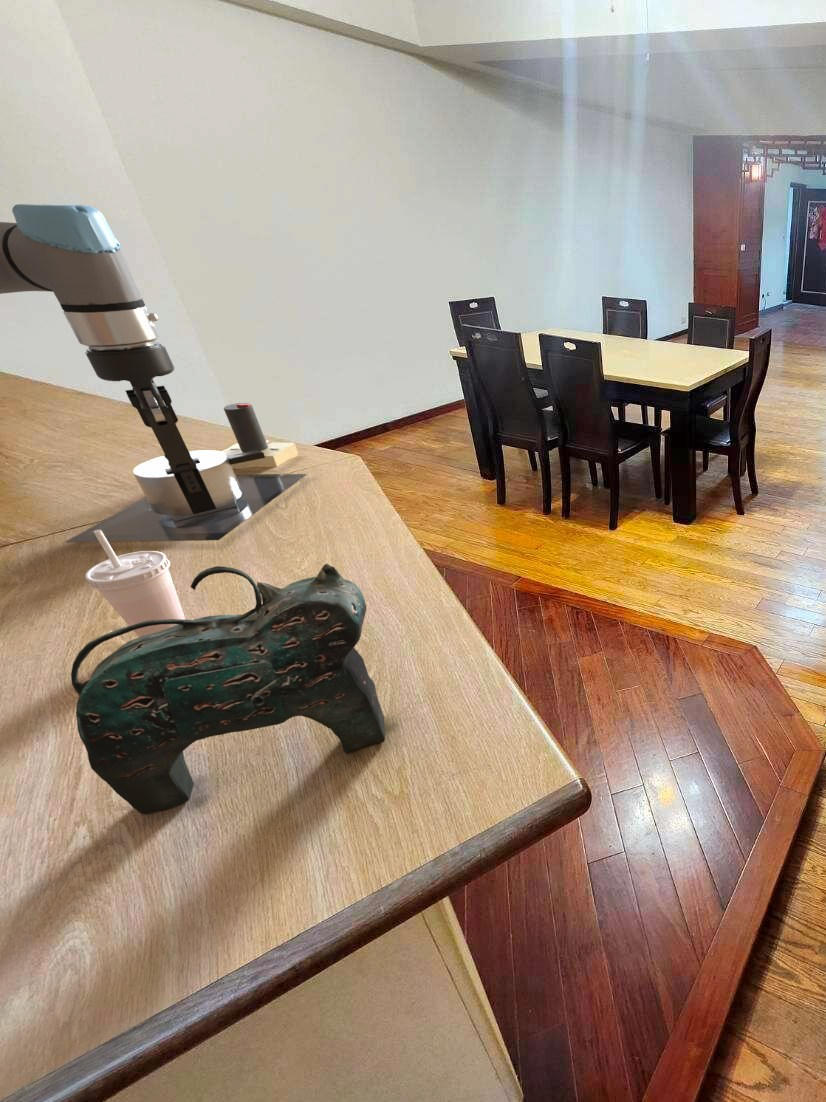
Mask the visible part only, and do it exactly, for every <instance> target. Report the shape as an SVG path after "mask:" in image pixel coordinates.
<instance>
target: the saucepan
mask: <svg viewBox="0 0 826 1102" xmlns="http://www.w3.org/2000/svg"><path fill="white" fill-rule="evenodd" d="M188 451H189V453H190V456H191V458H192V459H194V458H198V459H199V461H200V463H198V464H196V465H197V466H196V467H197V468H198V471H199V473H200V475H201V477H202V479H203V481H204V483H205V485H206V487H207V490H208V492H209V494H210V496H211V498H212V500H213V502H214V504H215V506H216V508H217V509H214V510H210V511H206V512H202V513H197V514H193V512H192V510H191V508H190V506H189V504H188V502H187V500H186V498H185V496H184V494H183V492H182V490H181V488H180V486H179V484H178V482H177V480H176V478H175V476H174V474H170V475H167V473H166V471H165V469H170V466H169V464H168V463H169V462H168V460H167V458H165V456H164V455H162V456H159V457H155V458H152V459H149V460H146V461H145V462H141V463H140V464H138V465H136V466H135V467H134V468H133V469H132V475H133V476H134V478H135V480H136V481H137V484H138V485H139V488H140V489H141V491H142V493H143V494H144V498H145V497H146V498H147V500H148V502H149V504H150V506H151V508H152V510H153V511H154V512H155V513H157V514H160V515H166V516H171V518H172V520H173V522H175V521H179V520H183V519H187V518H192V517H196V516H200V515H204V514H208V513H213V512H217V511H221V510H225V509H229V508H233V507H237V504H236V502H235V500H237V499H238V498H239V497H240V496H241V495H242V492H243V491H242V489H241V487H240V484H239V482H238V480H237V478H236V475H235V474H236V472H235V471H234V469H233V468H232V466H231V465H232V464H237V463H242V462H247V461H252V460H257V459H262V458H265V455H264V453H263V452H262V450H257V451H251V452H246V453H241V454H236V455H231V456H227V455H226V454H225V453H223V452H222V451H220V450H211V449H210V450H209V449H207V450H206V449H202V450H200V449H199V450H188Z"/></svg>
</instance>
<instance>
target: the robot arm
mask: <svg viewBox="0 0 826 1102" xmlns="http://www.w3.org/2000/svg"><path fill="white" fill-rule="evenodd" d="M11 210H12V211H11V212H12V214H13V217H14V219H15V222H9V221H0V295H1V294H13V293H22V292H23V293H24V292H52V293H53V294H54V296H55V298H56V300H57V302H58V303H59V306H60V307H61V310H62V313H63V315H64V317H65V318H66V320H67V322H68V325H69V326H70V328H71V330H72V332H73V334H74V335H75V338H76V339H77V341H78V343H79V344H80V345H82V346H85V347H88V348H87V349H86V350H85V355H86V357H87V359H88V361H89V363H90V365H91V367H92V369H93V370H94V373H95V375H96V376H97V377H98V378H99V379H100V380H102V381H103V380H104V381H107V382H123V381H126V382H129V383H130V385H131V389H126V390H124V391H125V392H126V396H127V398H128V400H129V402H130V404H131V406H132V407H133V408H135V409H136V410H137V413H138V414H139V416H140V418H141V420H142V422H143V423H144V425H145V427H148V428H151V430H152V432H153V434H154V436H155V437H156V439H157V442H158V444H159V445H160V448H161V450H162V451H163V454H164V455H163V456H165V458H167V460H168V462H169V463H168V464H169V466H170V469H165V471H166V473H167V475H170V474H174V476H175V478H176V480H177V482H178V484H179V486H180V488H181V490H182V492H183V494H184V496H185V498H186V500H187V502H188V504H189V506H190V508H191V510H192V512H193V514H197V513H202V512H206V511H210V510H214V509H217V508H216V506H215V504H214V502H213V500H212V498H211V496H210V494H209V492H208V490H207V487H206V485H205V483H204V481H203V479H202V477H201V475H200V473H199V471H198V468H197V467H196V466H197V465H196V464H198V463H200V461H199V459H198V458H194V459H192V458H191V456H190V453H189V451H190V450H189V449H188V447H187V445H186V443H185V441H184V439H183V437H182V435H181V432H180V430H179V428H178V426H177V423H178V422H179V418H178V416H177V414H176V412H175V410H174V408H173V406H172V402H173V401H172V398H171V395H170V394H169V391H168V390H167V389H166V387H165V385H156V383H155V381H154V378H156V377H165V376H167V375H169V374H172V373H173V372H174V371H175V366H174V364H173V362H172V359H171V357H170V355H169V353H168V351H167V348H166V346H165V345H164V344H162V343H161V342H159V341H156V340H158V339H159V338H160V334H159V331H158V330H157V328H156V325H155V324H153V322H158V321H159V317H158V315H157V314H156V313H154V312H153V313H152V312H151V313H148V309H147V307H146V303H145V301H144V300H143V299H144V297H143V296H142V294H141V291H140V289H139V287H138V284H137V282H136V281H135V278H134V276H133V273H132V271H131V269H130V266H129V264H128V261H127V259H126V257H125V255H124V253H123V251H122V246H121V244H120V242H119V241H118V239H117V238H116V236H115V235H114V232H113V231H112V229H111V227H110V225H109V224H108V222H107V219H106V218H105V216H104V214H103V213H102V212H101V211H100V210H98V209H97V208H96V207H93V206H91V205H85V204H53V203H52V204H49V203H48V204H47V203H42V204H41V203H40V204H39V203H38V204H37V203H36V204H34V203H20V204H19V203H18V204H14V205H13V207H12V208H11Z"/></svg>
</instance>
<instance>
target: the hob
mask: <svg viewBox="0 0 826 1102" xmlns="http://www.w3.org/2000/svg"><path fill="white" fill-rule="evenodd" d="M235 475H236V478H237V480H238V482H239V484H240V487H241V489H242V491H243V492H242V495H241V496H240V497H239V498H238V499H237V500H235V502H236V504H237V507H233V508H229V509H225V510H221V511H217V512H213V513H208V514H204V515H200V516H196V517H192V518H187V519H183V520H179V521H175V522H173V520H172V518H171V516H166V515H160V514H157V513H155V512H154V511H153V510H152V508H151V506H150V504H149V502H148V500H147V498H146V497H145V496H144V497H143V498H141V499H139V500H137V501H136V502H134V503H132V504H130V505H129V506H126V507H125V508H123V509H121V510H119V511H118V512H116V513H114V514H113V515H110V516H109V517H107V518H105V519H103V520H101V521H99V522H98V523H95V524H94V525H93V526H91V527H89V528H87V529H85V530H84V531H82V532H80V533H78V534H77V535H75V536H73V537H70V538H69V539H67V540H65V543H100V542H99V540H98V539H97V537H96V535H95V534H94V531H95V530H101V531H102V532H103V534H104V536H105V538H106V539H107V541H108V543H113V542H117V543H118V542H120V543H121V542H175V541H176V542H180V541H183V542H184V541H186V542H187V541H220V540H221V539H223V538H224V537H225V536H226V535H228V534H229V533H231V532H232V531H233V530H235V529H236V528H237V527H239V526H240V525H241V524H243V523H244V522H245V521H247V520H248V519H249V518H251V517H252V516H254V515H255V514H256V513H258V512H259V511H260V510H261V509H263V508H264V507H265V506H267V505H268V504H269V503H271V502H272V501H273V500H275V499H276V498H277V497H279V496H281V495H282V494H283V493H284V492H286V491H287V490H288V489H290V488H291V487H292V486H294V485H295V484H297V483H298V482H299V481H301V480H302V479H303V478H304V477H306V476H308V473H240V474H239V473H235Z"/></svg>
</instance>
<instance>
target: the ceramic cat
mask: <svg viewBox="0 0 826 1102" xmlns="http://www.w3.org/2000/svg"><path fill="white" fill-rule="evenodd" d="M225 573H226V574H234V575H237V576H240V577H243V578H244V579H246V580H247V581H248V582H249V584H250V585H251V586H252V588H253V591H254V596H255V597H254V598H255V606H254V607H253V608H252V609H250V610H249V611H246V612H245V613H243V614H216V615H208V616H203V617H202V616H201V617H199V618H194V619H185V620H183V619H166V620H150V621H145V622H141V623H138V624H134V625H131V626H129V625H128V626H124V627H120V628H117V629H115V630H112V631H110V632H107V633H105V634H102V635H100V636H99V637H97V638H94V639H93V640H91V641H88V642H87V643H86V644H85V645H84V646H83V648H81V650H79V651H78V653H77V655H76V657H75V659H74V661H73V662H72V667H71V672H70V677H71V685H72V687H73V689H74V691H75V692H76V694H77V695H78V699H77V702H76V711H75V716H76V724H77V725H76V726H77V732H78V735H79V738H80V740H81V742H82V744H83V745H84V748H85V750H86V754H87V760H88V762H89V766H90V767H91V770H93V772H94V773H95V774H96V775H97V776H98V777H99V778H100V779H102V781H104V782H105V783H106V784H107V785H109V787H110V788H111V789H112V790H113V791H114V792H115V793H116V794H117V795H118V796H119V797H121V798H122V799H123V800H124V801H125V802H127V803H128V804H129V806H131V807H132V808H133V809H134V810H136V811H137V812H138V813H140V814H141V815H148V814H149V815H150V814H153V813H159V812H162V811H166V810H169V809H172V808H176V807H178V806H181V805H183V804H185V803H187V802H189V801H190V799H191V796H192V791H193V788H194V785H195V784H194V783H195V782H194V781H193V778H192V774H191V772H190V770H189V768H188V765H187V762H186V760H185V755H184V751H185V750H186V749H187V748H188V747H189V746H191V745H193V744H194V743H195V742H197V741H201V740H204V739H208V738H211V737H215V736H223V735H226V734H231V733H240V732H246V731H251V730H256V729H263V728H266V727H272V726H277V725H281V724H283V723H286V721H288V720H290V719H292V718H295V717H305V718H307V719H310V720H312V721H314V722H316V723H319V724H321V725H322V726H324V727H326V728H328V729H329V730H331V731H332V733H333V734H334V735H335V736H336V737H337V738H338V740H339V742H340V744H341V748H342V749H343V752H344V753H345V754H346V755H349V754H351V753H354V752H356V751H358V750H361V749H363V748H366V747H369V746H373V745H377V744H381V743H384V742H385V740H386V726H385V724H386V721H385V716H384V712H383V710H382V707H381V704H380V700H379V698H378V697H379V696H378V694H377V689H376V684H375V682H374V680H373V679H372V678H371V677H370V675H369V672H368V669H367V666H366V664H365V660H364V658H363V656H362V655H361V654H360V653H359V652H358V649H356V648H355V647H356V646H357V644H358V643H359V641H360V639H361V636H362V630H363V624H364V620H365V618H366V614H367V603H366V600H365V596H364V593H363V592H362V590H361V588H360V587H359V586H358V585H357V584H356V583H354V582H353V581H351V580H349V579H345V578H344V577H343V575H342V574H340V573H339V571H338V569H337V568H336V567H334V566H332V565H330V564H329V563H325V564H324V565H322V567H321V568H320V570H319V572H318V574H317V575H316V576H312V577H308V578H302V579H300V580H297V581H294V582H291V583H289V584H287V585H285V586H284V587H282V588H280V587H277V586H274V585H271V584H269V583H265V582H261V581H257V582H255V581H254V579H252V577H251V576H250V575H249V574H248V573H246V572H245V571H243V570H241V569H238V568H234V567H228V566H219V565H217V566H213V567H209V568H206V569H204V570H203V571H200V572H199V573H198V574H197V575H196V576H195V577H194V579H193V580H192V582H191V584H190V589H192V590H194V591H196V590H197V589H196V588H197V586H198V585H199V583H200V582H201V581H203V580H204V579H205V578H207V577H210V576H213V575H215V574H225ZM161 624H178V625H176V626H173V627H170V628H168V629H165V630H162V631H160V632H156V633H152V634H149V635H145V636H142V637H139V636H138V637H137V638H134V639H131V640H128V641H127V642H125V643H124V644H122V645H121V646H120V647H119V648H117V649H116V650H115V651H113V652H112V653H111V654H109V655H108V656H107V657H105V658H104V659H102V660H101V661H100V662H99V663H98V664H97V665H96V667H95V668H94V669H93V671H92V673H91V675H90V676H89V678H88V680H85V681H84V682H80V681H79V677H78V675H79V669H80V667H81V666H82V663H83V662H84V661H85V660H86V658H87V657H88V656H89V655H90V654H91V652H92V651H93V650H95V648H97V647H98V646H99V645H101V644H103V643H105V642H106V641H110V640H111V639H114V638H117V637H119V636H122V635H125V634H127V633H129V632H134V631H133V630H136V629H139V628H143V627H147V626H153V625H161Z"/></svg>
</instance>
